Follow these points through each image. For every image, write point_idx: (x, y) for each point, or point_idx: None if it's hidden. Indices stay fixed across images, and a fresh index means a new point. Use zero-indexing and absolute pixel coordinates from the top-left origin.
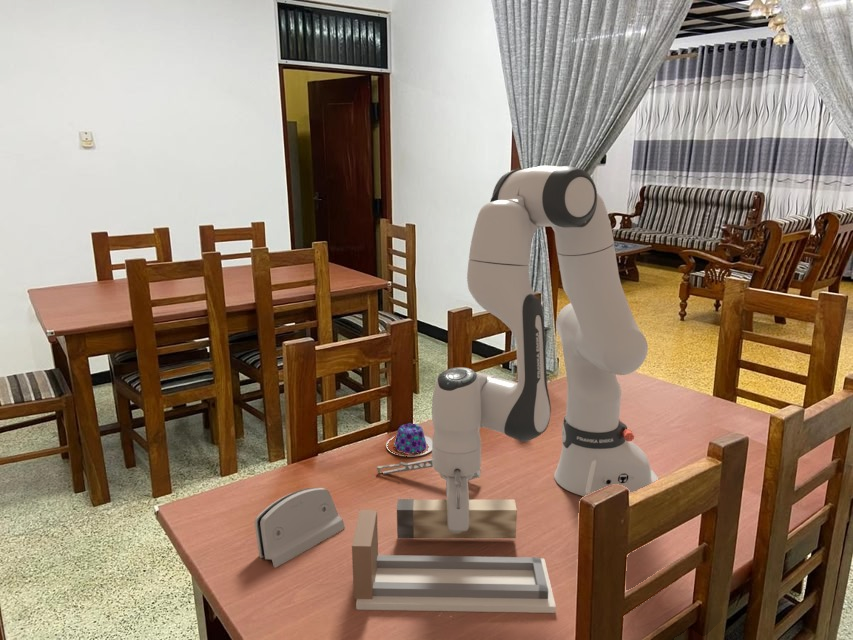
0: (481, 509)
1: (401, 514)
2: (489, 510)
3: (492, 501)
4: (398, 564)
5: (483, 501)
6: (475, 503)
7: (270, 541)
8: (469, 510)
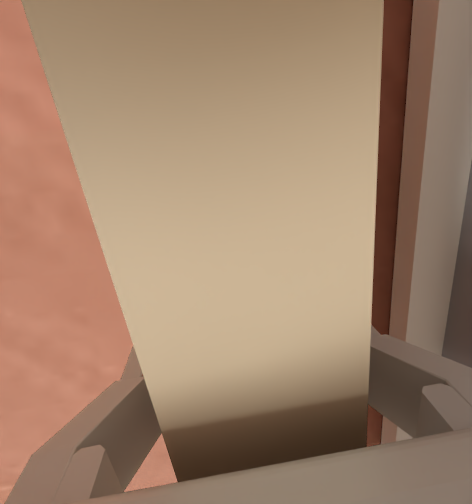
0: (357, 224)
1: None
2: (373, 99)
3: (104, 50)
4: None
5: (147, 213)
6: (220, 312)
7: None
8: (369, 353)
